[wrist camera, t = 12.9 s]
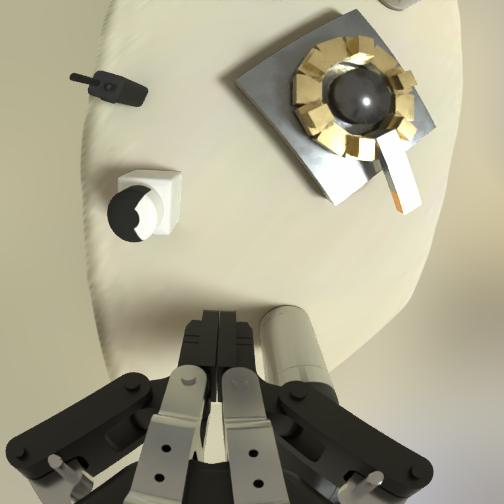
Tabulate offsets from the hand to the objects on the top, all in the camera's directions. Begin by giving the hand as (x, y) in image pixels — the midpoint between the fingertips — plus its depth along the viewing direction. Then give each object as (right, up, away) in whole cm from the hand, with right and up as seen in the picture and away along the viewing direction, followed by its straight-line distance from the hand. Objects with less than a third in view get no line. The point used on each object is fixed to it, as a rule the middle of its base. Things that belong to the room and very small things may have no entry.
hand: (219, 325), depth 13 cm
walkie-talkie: (-16, +26, +20) cm, 36 cm away
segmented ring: (+16, +20, +18) cm, 32 cm away
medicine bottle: (-12, +12, +26) cm, 31 cm away
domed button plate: (+14, +25, +22) cm, 36 cm away
